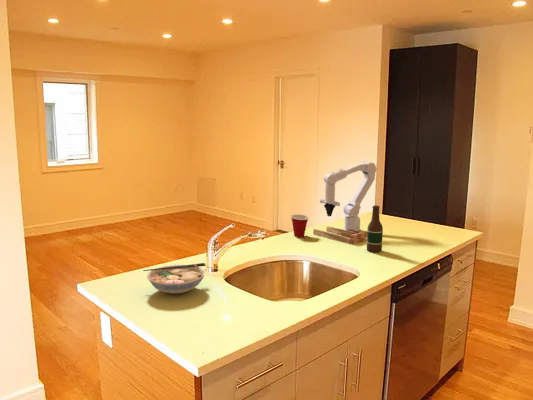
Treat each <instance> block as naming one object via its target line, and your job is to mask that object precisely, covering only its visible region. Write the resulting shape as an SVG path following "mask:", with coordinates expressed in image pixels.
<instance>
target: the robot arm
mask: <svg viewBox="0 0 533 400" xmlns="http://www.w3.org/2000/svg"><path fill="white" fill-rule="evenodd" d="M359 171H360V172H362V174H363V176H364V179H363V181H362V182H361V184H360V186H359V188H358V189H357V191H356V193H355V195H354V196H353V198H352V200H350V201H349V202H348V203H347V204H346V205H345V206H344V207H343V213H344V228H342V230H347V229H351V230H355V231H358V232H360V231H362V229H361V218H360V216H359V214H360V210H361V203H362V202H363V200H364V199H365V197H366V195H367V193H368V191H369V190H370V188H371V187H372V185H373V183H374V181H375V179H376V172H377V171H378V170H377V165H376V164H375V163H374V162H368V161H362V162H359V163H357V164H355V165H352V166H351V167H348V168H346V169H344V168H339V169H338V170H336V171H332V172H331V173H328V174H326V175H324V178H323V181H324V182H325V190H324V191H325V193H324V199H319V203H320V204H324V205H323V207H324V208H325V211H326V216H327V217H332V215H333V212H334V209H335V207H340V206H341V203H340V202H338V201H336V199H335V198H336V197H335V196H336V183H337V182H340V181H341V180H344V179H346V178H347V177H348V176H349V175H351V174H353V173H357V172H359Z"/></svg>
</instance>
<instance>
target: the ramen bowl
mask: <svg viewBox="0 0 533 400" xmlns="http://www.w3.org/2000/svg"><path fill="white" fill-rule="evenodd" d="M206 266H207V265H206V262H200V263H193V264H191V263H190V264H172V265H164V266H159V267H157V268H151V269H143V270H142V271H143V272H148V271H149V272H148V273H147V274H146V278H147V279H148V281H149V282H150V284H151V285H152V286H153V287H154V289H155V290H157V291H160V292H162V293H167V294H171V295H181V294H184V293H185V292H188V291H191V290H194V289H195V288H196V287H197V286H199V285H200V284H201V282H202V280H203V279H204V278H205V275H206V271H205V270H204V269H203V268H202V267H206Z"/></svg>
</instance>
